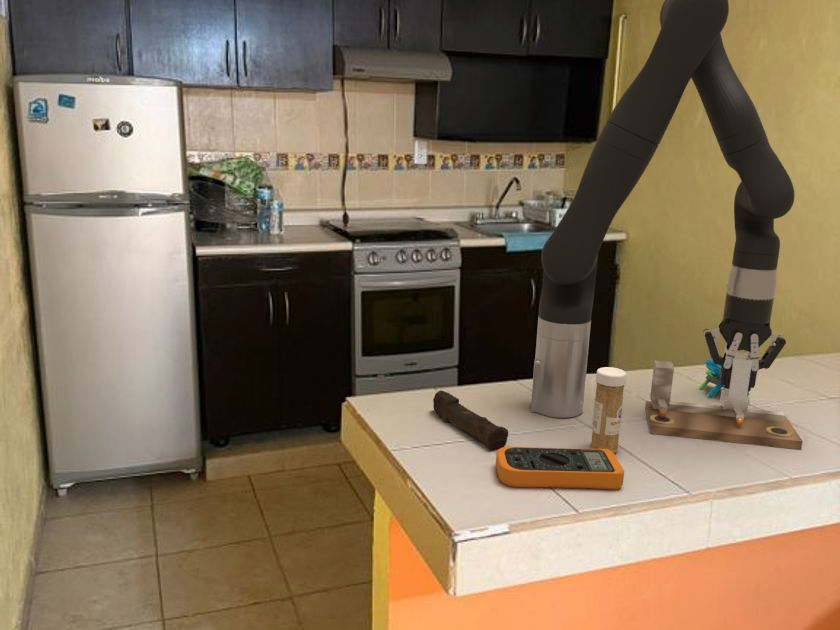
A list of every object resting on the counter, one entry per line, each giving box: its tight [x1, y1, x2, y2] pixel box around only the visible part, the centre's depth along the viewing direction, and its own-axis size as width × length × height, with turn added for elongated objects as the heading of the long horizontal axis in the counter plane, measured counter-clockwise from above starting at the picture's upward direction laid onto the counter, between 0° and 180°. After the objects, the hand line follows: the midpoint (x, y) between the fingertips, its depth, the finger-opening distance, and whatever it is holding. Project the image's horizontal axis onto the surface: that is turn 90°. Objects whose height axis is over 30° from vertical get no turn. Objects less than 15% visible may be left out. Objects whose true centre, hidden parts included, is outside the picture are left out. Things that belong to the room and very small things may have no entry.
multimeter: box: [495, 446, 625, 491], centre depth 116 cm, size 9×18×3 cm, turn 91°
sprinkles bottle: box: [589, 366, 627, 454], centre depth 124 cm, size 5×5×14 cm
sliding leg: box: [719, 352, 752, 425], centre depth 135 cm, size 4×8×10 cm, turn 169°
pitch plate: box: [644, 360, 803, 451], centre depth 135 cm, size 24×12×10 cm, turn 79°
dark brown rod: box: [432, 390, 509, 452], centre depth 131 cm, size 19×4×5 cm, turn 30°
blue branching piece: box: [699, 358, 750, 398], centre depth 151 cm, size 11×6×10 cm
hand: (736, 387), depth 137 cm, fingers closed on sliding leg, 3 cm apart
